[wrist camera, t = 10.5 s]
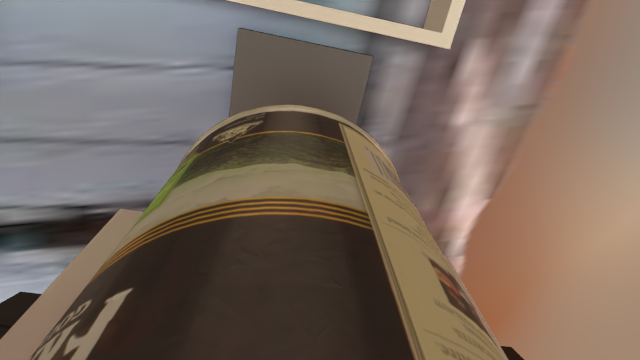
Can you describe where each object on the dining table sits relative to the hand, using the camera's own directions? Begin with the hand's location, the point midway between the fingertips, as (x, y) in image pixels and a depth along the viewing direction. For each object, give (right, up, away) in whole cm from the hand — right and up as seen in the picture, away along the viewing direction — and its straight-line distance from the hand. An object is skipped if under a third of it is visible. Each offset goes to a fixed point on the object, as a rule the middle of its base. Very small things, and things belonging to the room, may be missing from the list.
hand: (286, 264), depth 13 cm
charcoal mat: (-1, +10, +22) cm, 24 cm away
